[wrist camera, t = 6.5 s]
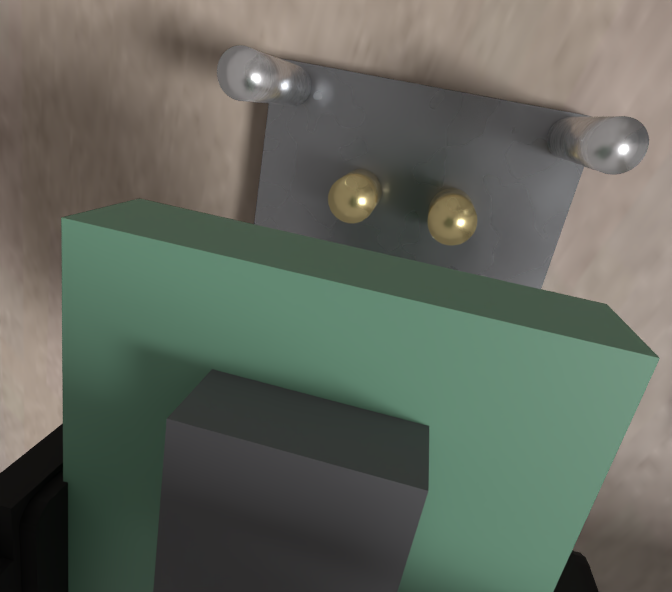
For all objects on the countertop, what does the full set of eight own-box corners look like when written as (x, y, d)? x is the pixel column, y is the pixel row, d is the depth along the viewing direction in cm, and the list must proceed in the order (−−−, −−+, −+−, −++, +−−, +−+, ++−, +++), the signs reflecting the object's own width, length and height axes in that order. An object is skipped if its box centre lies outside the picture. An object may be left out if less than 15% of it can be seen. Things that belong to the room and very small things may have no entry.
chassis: (283, 60, 17) (216, 35, 12) (591, 118, 16) (664, 118, 11) (238, 410, 22) (177, 500, 17) (468, 474, 21) (478, 590, 16)
